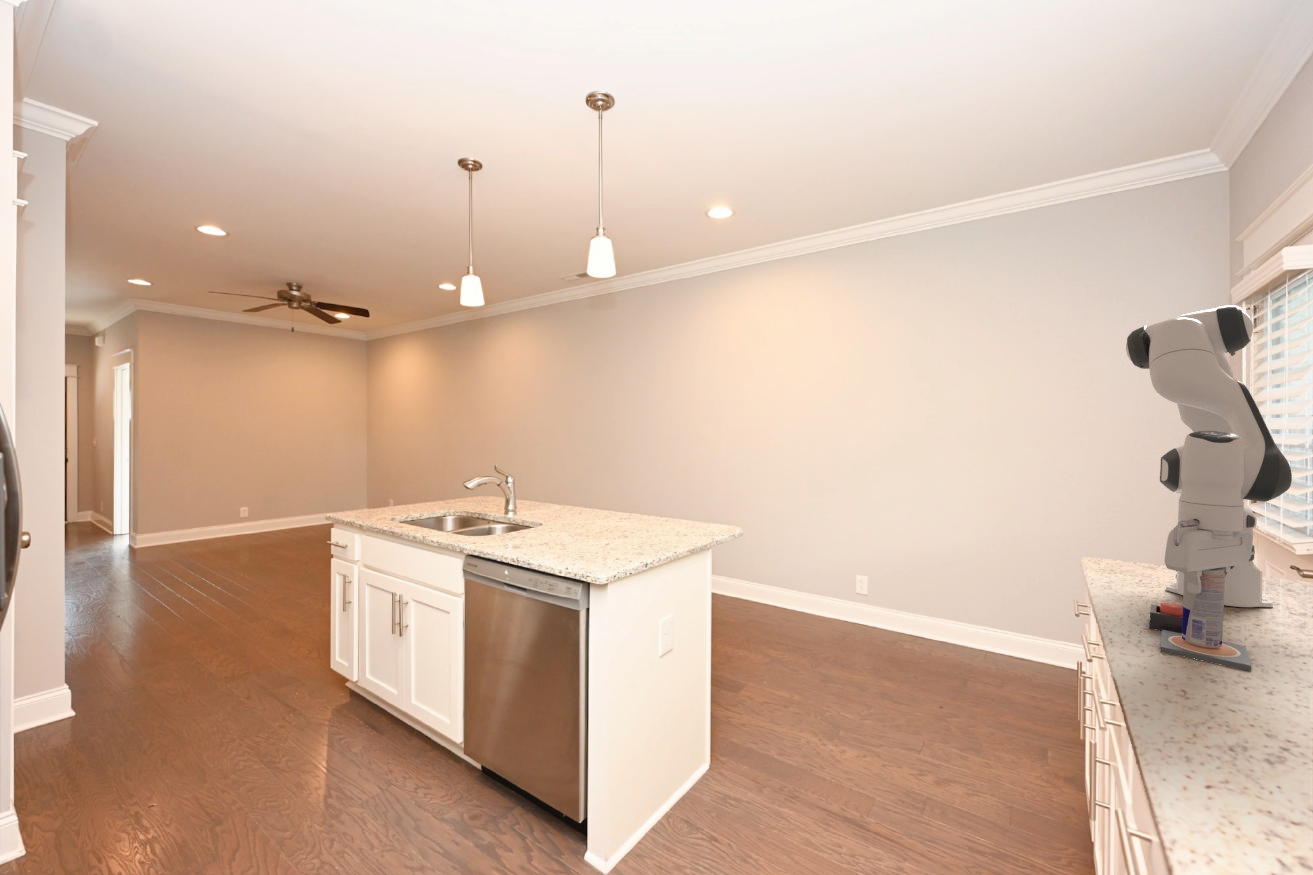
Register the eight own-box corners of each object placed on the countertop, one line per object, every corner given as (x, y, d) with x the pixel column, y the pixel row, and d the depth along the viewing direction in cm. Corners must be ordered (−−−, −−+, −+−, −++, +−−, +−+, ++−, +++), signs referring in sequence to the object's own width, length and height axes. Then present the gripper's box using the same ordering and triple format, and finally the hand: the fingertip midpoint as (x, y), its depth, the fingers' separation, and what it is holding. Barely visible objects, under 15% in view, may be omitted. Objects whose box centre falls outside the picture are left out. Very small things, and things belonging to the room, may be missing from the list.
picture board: (1161, 634, 118) (1161, 628, 118) (1245, 650, 110) (1245, 645, 110) (1160, 651, 109) (1160, 646, 109) (1251, 671, 101) (1251, 665, 101)
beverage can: (1229, 647, 108) (1232, 568, 108) (1208, 651, 107) (1212, 571, 106) (1194, 636, 114) (1197, 561, 113) (1174, 639, 112) (1177, 563, 111)
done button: (1160, 612, 124) (1160, 601, 124) (1185, 617, 122) (1185, 605, 122) (1159, 617, 121) (1160, 605, 121) (1185, 622, 119) (1185, 610, 119)
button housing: (1150, 619, 127) (1151, 604, 126) (1194, 628, 122) (1195, 611, 122) (1149, 628, 121) (1150, 612, 121) (1194, 637, 117) (1195, 620, 116)
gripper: (1196, 524, 102) (1193, 601, 103) (1262, 518, 109) (1258, 590, 110) (1155, 518, 108) (1152, 591, 108) (1220, 512, 115) (1216, 581, 116)
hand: (1206, 590), depth 109 cm, fingers open, 5 cm apart
